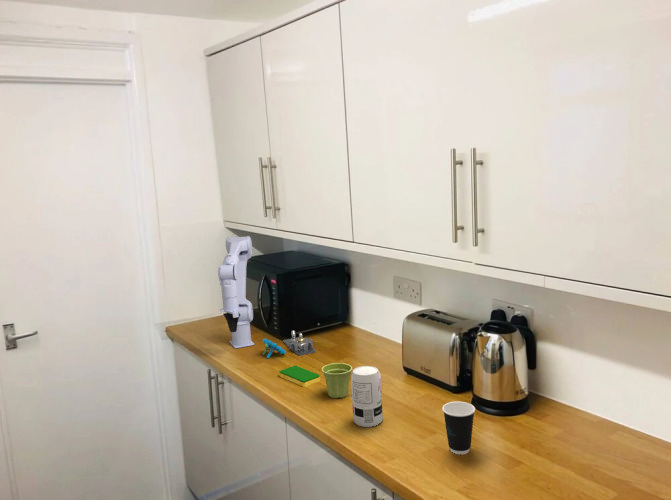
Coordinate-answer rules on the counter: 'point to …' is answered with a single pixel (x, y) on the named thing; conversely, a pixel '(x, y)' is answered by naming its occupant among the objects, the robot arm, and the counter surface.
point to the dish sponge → (299, 376)
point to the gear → (272, 347)
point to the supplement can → (366, 396)
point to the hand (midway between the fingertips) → (233, 331)
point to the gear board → (300, 344)
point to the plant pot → (337, 379)
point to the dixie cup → (459, 425)
